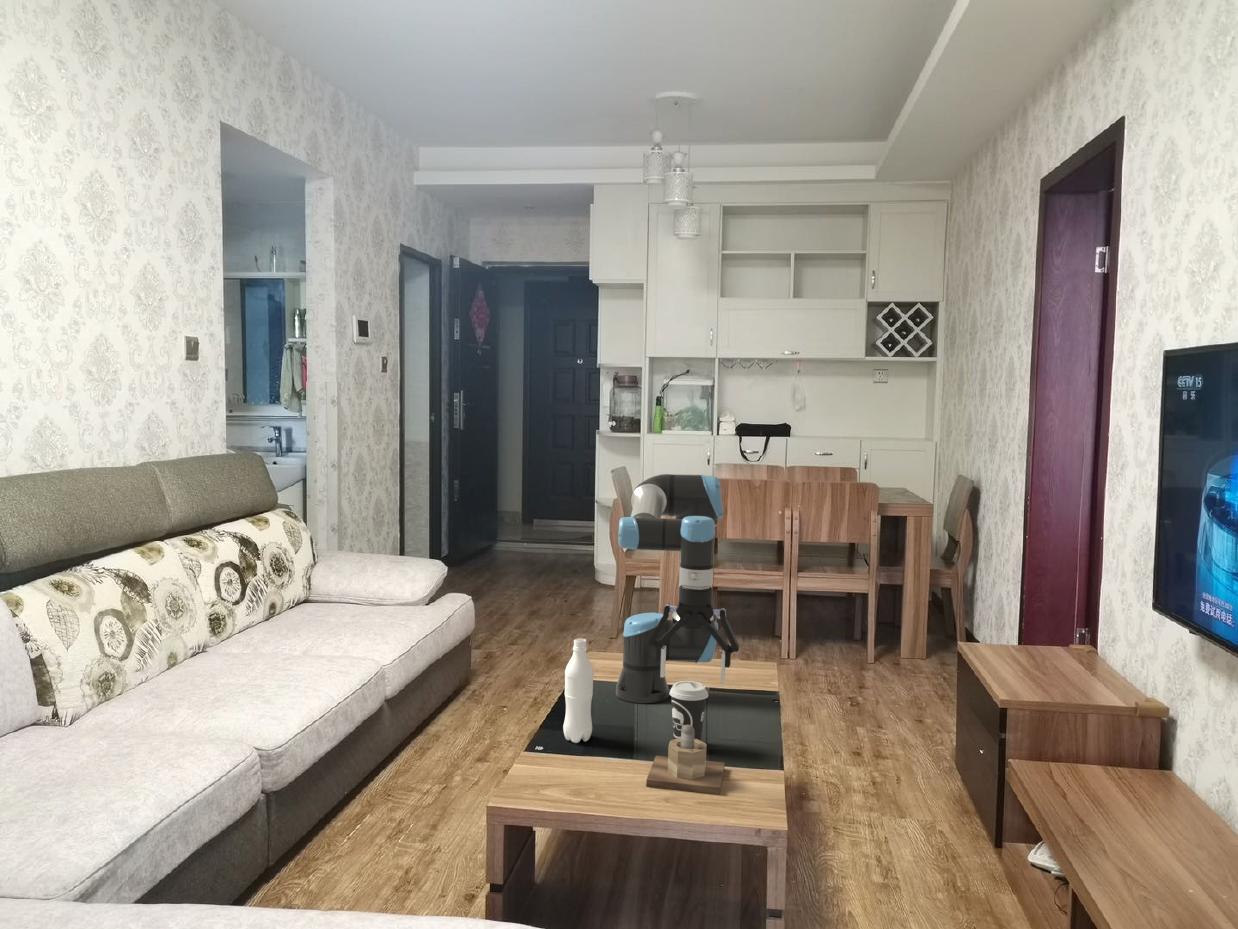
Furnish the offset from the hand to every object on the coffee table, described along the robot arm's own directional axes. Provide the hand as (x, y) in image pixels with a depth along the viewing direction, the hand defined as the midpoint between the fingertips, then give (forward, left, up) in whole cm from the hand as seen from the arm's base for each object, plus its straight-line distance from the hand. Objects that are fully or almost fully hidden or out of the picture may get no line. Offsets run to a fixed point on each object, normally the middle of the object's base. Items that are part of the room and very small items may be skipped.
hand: (692, 678), depth 202 cm
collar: (+3, 0, -20) cm, 21 cm away
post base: (+3, 0, -22) cm, 22 cm away
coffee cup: (-16, -2, -22) cm, 28 cm away
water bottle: (-13, -29, -22) cm, 39 cm away
